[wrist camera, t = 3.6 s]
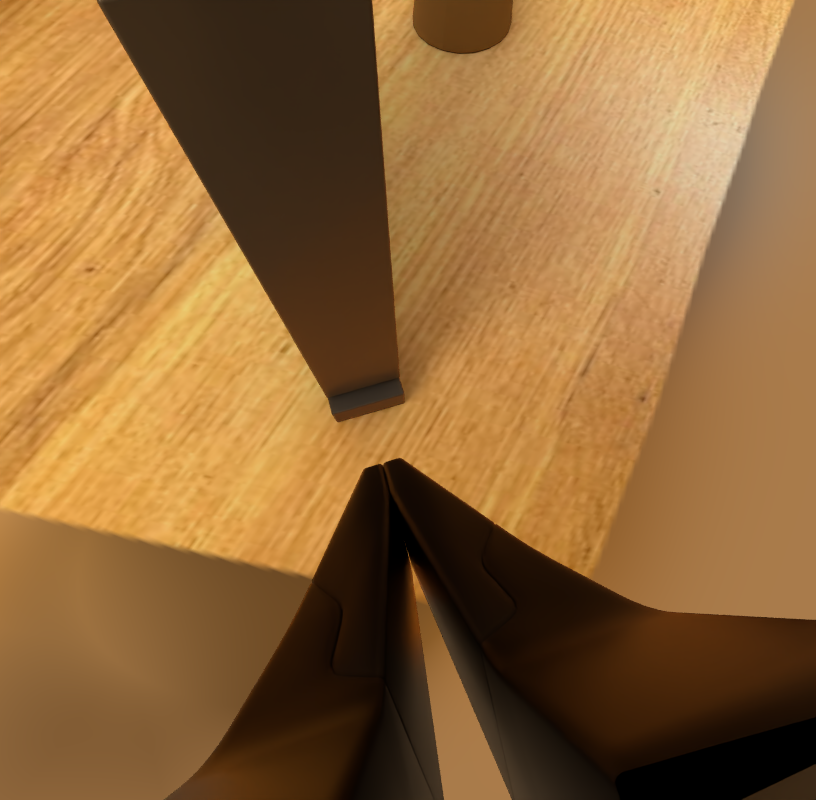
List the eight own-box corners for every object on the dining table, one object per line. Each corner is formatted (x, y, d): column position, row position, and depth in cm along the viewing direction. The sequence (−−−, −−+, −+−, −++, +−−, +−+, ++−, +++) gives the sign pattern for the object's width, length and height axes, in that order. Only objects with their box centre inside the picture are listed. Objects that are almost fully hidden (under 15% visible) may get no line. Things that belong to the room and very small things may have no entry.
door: (400, 378, 17) (369, -54, 5) (327, 398, 17) (94, -1, 4) (342, 197, 20) (231, -359, 8) (279, 212, 20) (60, -337, 7)
